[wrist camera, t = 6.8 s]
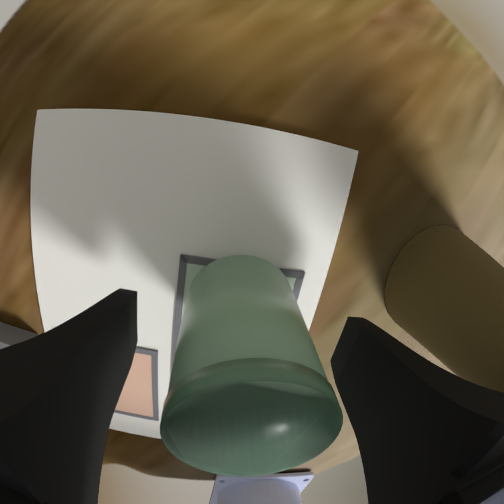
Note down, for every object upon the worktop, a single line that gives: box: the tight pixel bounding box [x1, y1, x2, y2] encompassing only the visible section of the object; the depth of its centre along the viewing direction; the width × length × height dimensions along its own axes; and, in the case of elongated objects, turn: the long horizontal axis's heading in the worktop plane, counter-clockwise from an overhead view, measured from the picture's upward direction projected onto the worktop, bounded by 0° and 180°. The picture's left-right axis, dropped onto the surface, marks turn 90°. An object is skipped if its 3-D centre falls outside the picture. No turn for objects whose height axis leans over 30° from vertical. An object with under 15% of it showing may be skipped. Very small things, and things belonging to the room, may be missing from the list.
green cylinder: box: [160, 255, 343, 476], centre depth 9 cm, size 4×4×7 cm
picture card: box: [31, 109, 359, 439], centre depth 13 cm, size 18×13×1 cm
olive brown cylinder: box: [384, 225, 504, 393], centre depth 9 cm, size 6×6×11 cm
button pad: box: [0, 322, 38, 349], centre depth 13 cm, size 7×7×2 cm
